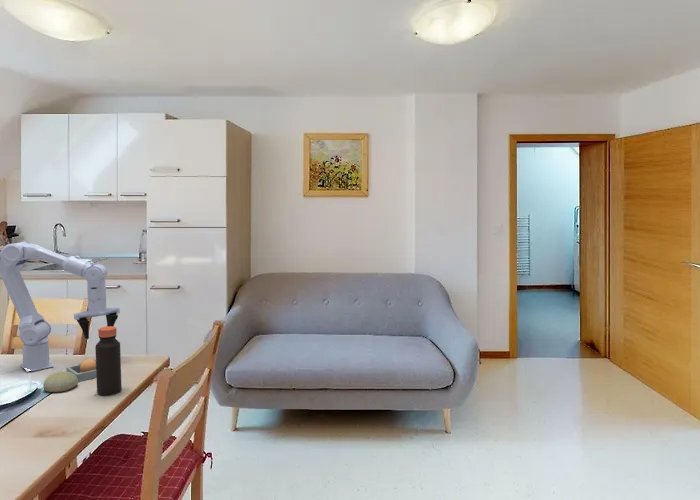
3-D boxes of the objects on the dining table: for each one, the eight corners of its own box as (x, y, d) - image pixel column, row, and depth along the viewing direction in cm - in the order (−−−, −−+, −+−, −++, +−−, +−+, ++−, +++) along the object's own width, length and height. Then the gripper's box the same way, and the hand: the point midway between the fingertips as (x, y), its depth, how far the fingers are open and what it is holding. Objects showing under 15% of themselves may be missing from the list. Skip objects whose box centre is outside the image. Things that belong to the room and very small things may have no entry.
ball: (78, 373, 158) (77, 359, 158) (94, 369, 162) (93, 355, 161) (83, 377, 155) (82, 363, 154) (99, 373, 159) (98, 359, 158)
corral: (66, 374, 158) (66, 367, 158) (100, 366, 166) (99, 359, 165) (76, 382, 151) (76, 374, 151) (111, 373, 159) (110, 366, 159)
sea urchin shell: (64, 389, 141) (47, 369, 142) (49, 405, 143) (32, 385, 143) (87, 378, 150) (71, 359, 151) (72, 393, 152) (57, 375, 152)
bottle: (110, 385, 149) (108, 324, 147) (126, 389, 147) (124, 326, 145) (91, 393, 143) (89, 329, 141) (108, 397, 140) (106, 332, 138)
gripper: (78, 303, 158) (80, 342, 159) (122, 297, 168) (123, 334, 170) (71, 300, 162) (72, 338, 164) (114, 294, 173) (115, 330, 174)
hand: (98, 336), depth 167 cm, fingers open, 7 cm apart
